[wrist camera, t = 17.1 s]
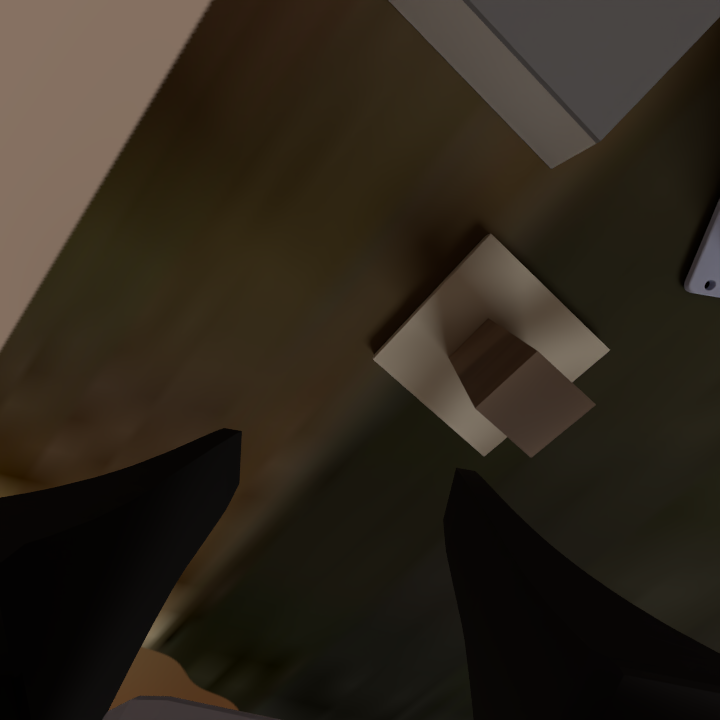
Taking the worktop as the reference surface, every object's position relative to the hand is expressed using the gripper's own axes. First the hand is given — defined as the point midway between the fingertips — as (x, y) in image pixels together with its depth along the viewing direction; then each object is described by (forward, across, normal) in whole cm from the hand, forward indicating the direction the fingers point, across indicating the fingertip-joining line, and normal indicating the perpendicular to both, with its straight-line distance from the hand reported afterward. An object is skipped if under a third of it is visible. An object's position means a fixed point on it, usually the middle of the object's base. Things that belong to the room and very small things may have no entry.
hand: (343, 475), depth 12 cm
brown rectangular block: (+10, -6, -3) cm, 12 cm away
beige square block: (+10, -6, -3) cm, 13 cm away
